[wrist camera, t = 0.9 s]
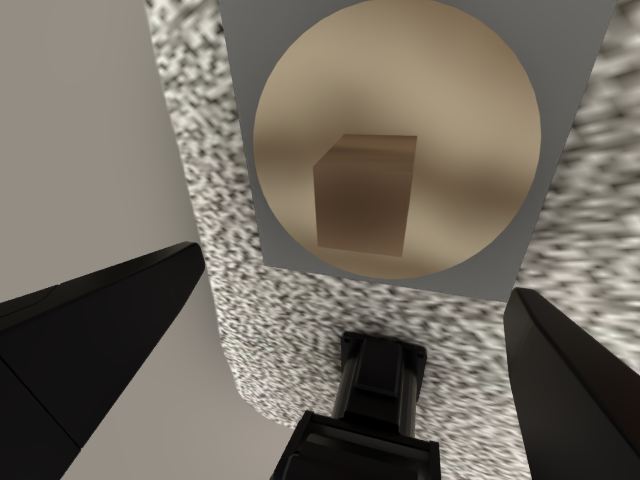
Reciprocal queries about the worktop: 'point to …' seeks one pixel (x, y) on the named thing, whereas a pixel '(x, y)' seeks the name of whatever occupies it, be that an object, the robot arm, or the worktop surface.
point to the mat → (522, 38)
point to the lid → (397, 138)
